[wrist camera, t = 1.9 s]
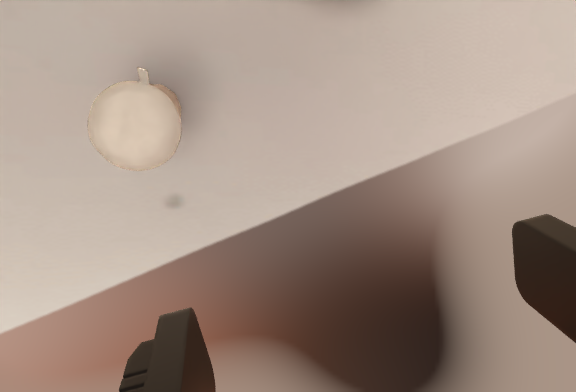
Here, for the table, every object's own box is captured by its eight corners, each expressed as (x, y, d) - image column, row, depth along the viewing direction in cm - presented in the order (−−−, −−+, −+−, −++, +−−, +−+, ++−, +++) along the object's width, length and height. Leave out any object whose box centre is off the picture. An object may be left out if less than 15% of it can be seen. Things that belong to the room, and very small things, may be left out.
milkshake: (201, 73, 31) (192, 83, 22) (181, 149, 33) (165, 191, 23) (131, 51, 30) (90, 52, 21) (114, 131, 32) (68, 166, 22)
